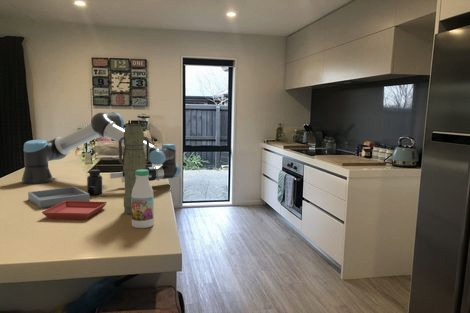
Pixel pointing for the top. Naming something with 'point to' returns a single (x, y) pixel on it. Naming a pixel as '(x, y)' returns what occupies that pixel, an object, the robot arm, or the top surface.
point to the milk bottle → (142, 201)
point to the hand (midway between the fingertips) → (115, 177)
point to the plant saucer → (74, 210)
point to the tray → (57, 196)
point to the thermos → (132, 159)
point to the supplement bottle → (94, 183)
